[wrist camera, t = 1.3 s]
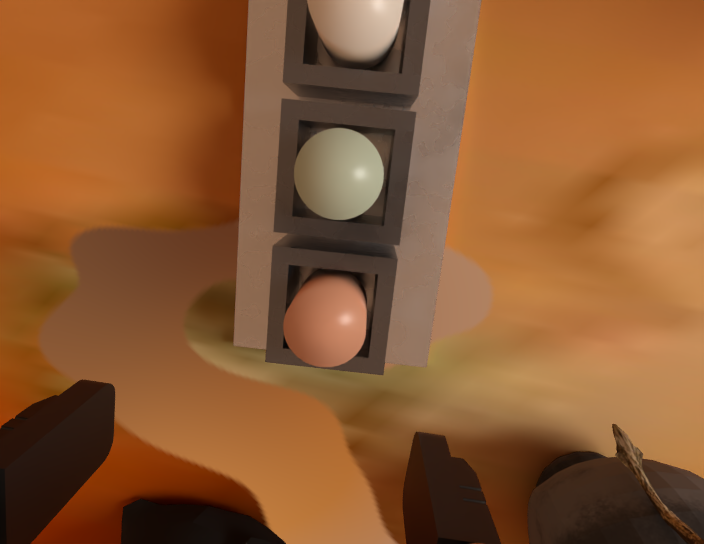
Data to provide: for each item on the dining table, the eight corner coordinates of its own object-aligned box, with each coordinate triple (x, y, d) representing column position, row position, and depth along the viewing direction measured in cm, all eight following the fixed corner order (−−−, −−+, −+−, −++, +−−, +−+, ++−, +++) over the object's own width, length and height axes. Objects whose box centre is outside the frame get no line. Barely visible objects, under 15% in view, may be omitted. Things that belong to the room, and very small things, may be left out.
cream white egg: (402, -14, 25) (410, -58, 20) (393, 73, 26) (398, 51, 21) (322, -21, 25) (310, -67, 20) (316, 65, 26) (303, 42, 21)
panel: (483, -33, 28) (512, -87, 22) (424, 361, 34) (435, 402, 28) (255, -55, 28) (224, -113, 22) (237, 340, 34) (209, 376, 28)
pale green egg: (385, 139, 27) (388, 133, 22) (377, 214, 28) (378, 224, 23) (311, 131, 27) (297, 123, 22) (305, 206, 28) (291, 215, 23)
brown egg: (370, 271, 28) (370, 293, 24) (363, 337, 29) (361, 371, 25) (300, 264, 29) (286, 284, 24) (295, 330, 30) (280, 362, 25)
